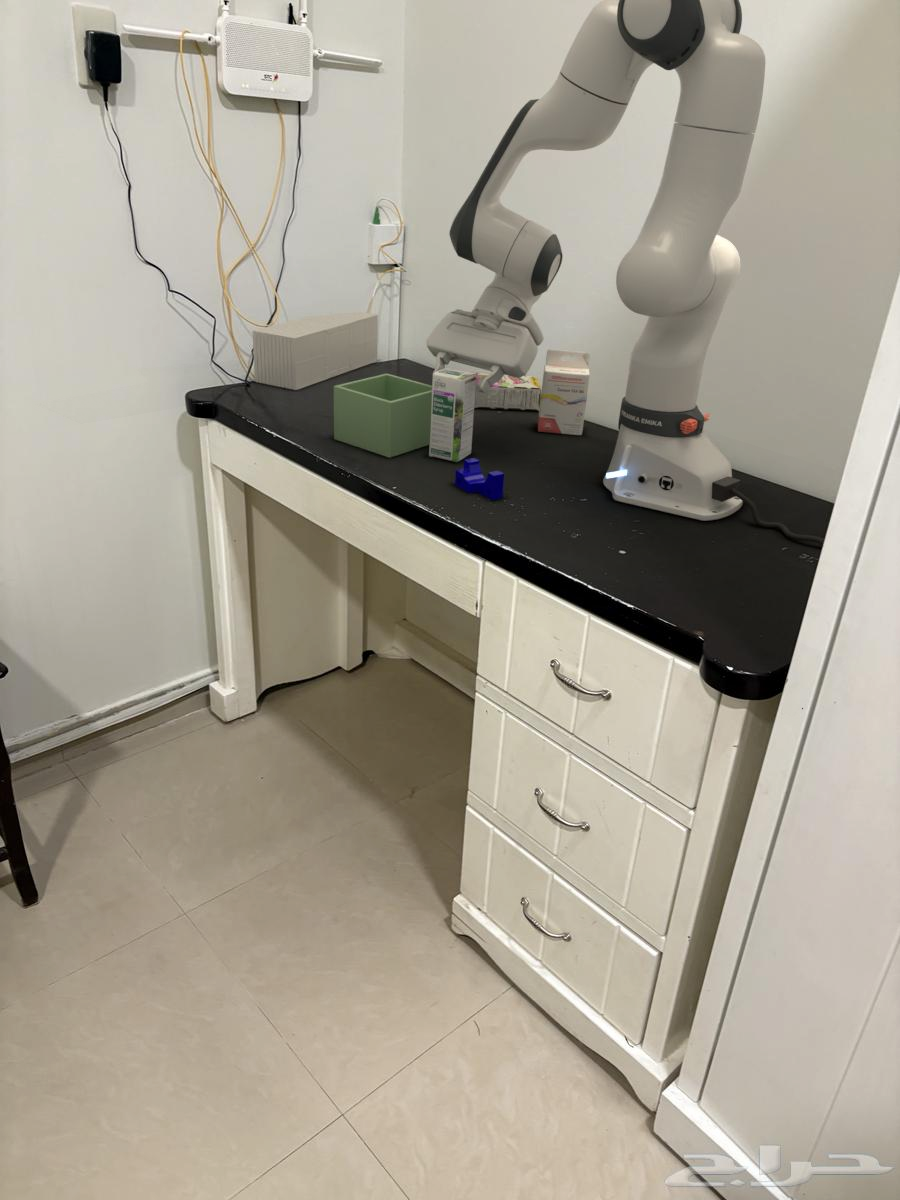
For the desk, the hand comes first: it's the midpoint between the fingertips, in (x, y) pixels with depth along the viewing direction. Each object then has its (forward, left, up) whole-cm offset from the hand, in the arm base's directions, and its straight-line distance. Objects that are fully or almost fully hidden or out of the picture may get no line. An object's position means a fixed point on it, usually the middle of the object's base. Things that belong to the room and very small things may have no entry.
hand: (458, 384), depth 157 cm
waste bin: (+13, +3, -12) cm, 18 cm away
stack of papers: (+51, -22, -7) cm, 56 cm away
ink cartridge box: (-5, -26, -12) cm, 29 cm away
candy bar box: (+21, -26, -10) cm, 35 cm away
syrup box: (0, +1, -12) cm, 12 cm away
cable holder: (-14, +11, -12) cm, 22 cm away
